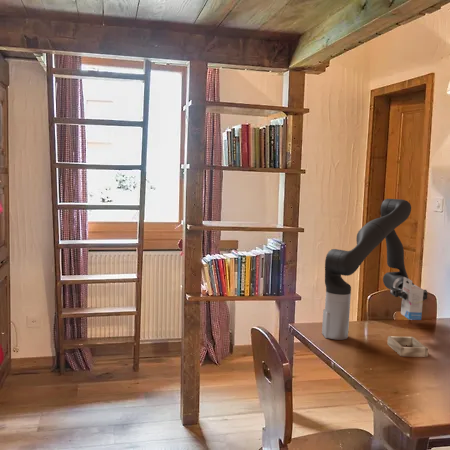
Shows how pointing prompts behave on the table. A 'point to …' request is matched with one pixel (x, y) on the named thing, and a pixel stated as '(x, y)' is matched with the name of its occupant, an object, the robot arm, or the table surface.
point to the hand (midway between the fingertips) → (414, 297)
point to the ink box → (412, 301)
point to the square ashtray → (413, 351)
